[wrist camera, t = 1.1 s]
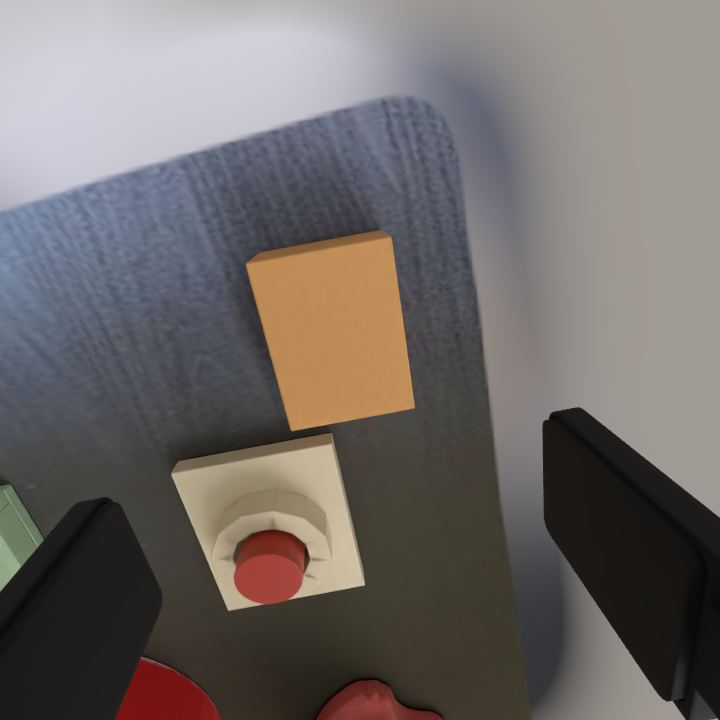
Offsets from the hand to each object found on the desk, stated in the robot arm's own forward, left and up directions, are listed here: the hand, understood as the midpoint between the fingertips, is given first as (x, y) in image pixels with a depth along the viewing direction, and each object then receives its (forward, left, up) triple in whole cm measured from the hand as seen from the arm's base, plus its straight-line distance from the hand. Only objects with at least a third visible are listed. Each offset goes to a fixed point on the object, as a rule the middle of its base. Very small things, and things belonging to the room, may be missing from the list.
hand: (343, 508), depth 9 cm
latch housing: (+12, -6, -13) cm, 19 cm away
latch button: (+12, -6, -11) cm, 17 cm away
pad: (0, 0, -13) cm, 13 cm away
